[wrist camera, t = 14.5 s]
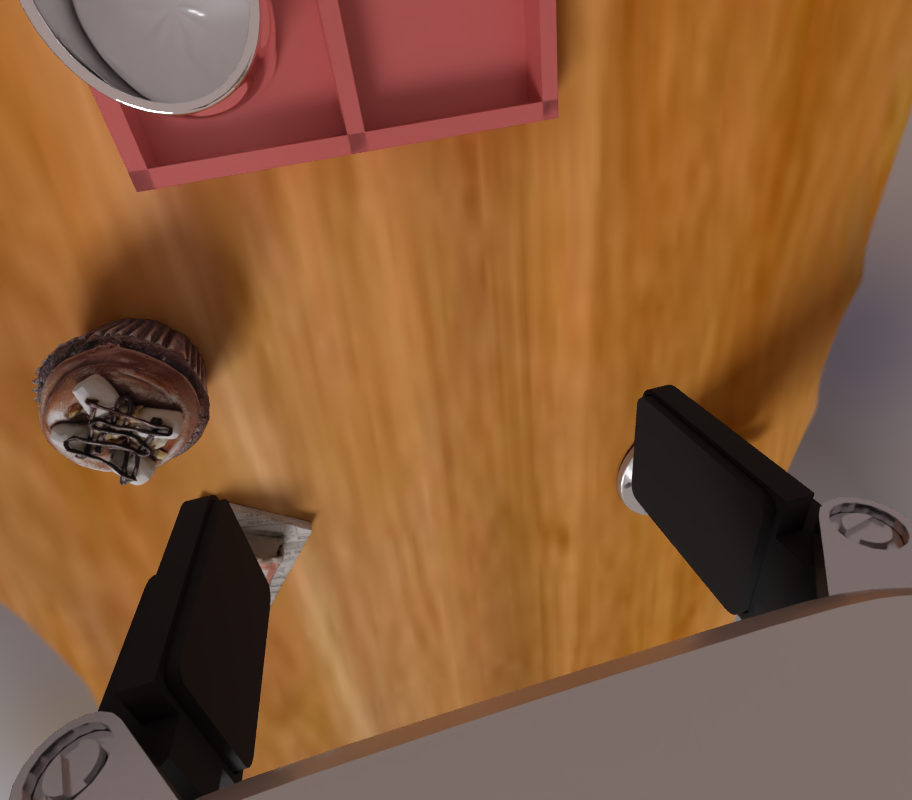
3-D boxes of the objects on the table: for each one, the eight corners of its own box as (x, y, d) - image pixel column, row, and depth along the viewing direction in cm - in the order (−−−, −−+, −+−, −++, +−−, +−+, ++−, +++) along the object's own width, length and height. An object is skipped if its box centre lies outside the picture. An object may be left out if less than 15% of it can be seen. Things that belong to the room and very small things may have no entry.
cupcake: (84, 280, 32) (4, 343, 23) (239, 339, 36) (218, 410, 28) (50, 400, 35) (-31, 493, 26) (196, 441, 39) (166, 532, 31)
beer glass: (225, -75, 25) (141, -257, 12) (311, 73, 29) (314, 49, 16) (111, 3, 25) (-83, -96, 13) (211, 139, 29) (138, 165, 16)
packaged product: (241, 685, 48) (126, 677, 44) (246, 641, 52) (141, 629, 48) (313, 556, 42) (188, 532, 38) (313, 517, 46) (200, 491, 42)
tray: (527, -160, 27) (551, -190, 24) (538, 116, 34) (558, 117, 31) (23, -114, 23) (-15, -143, 20) (152, 184, 30) (137, 192, 27)
